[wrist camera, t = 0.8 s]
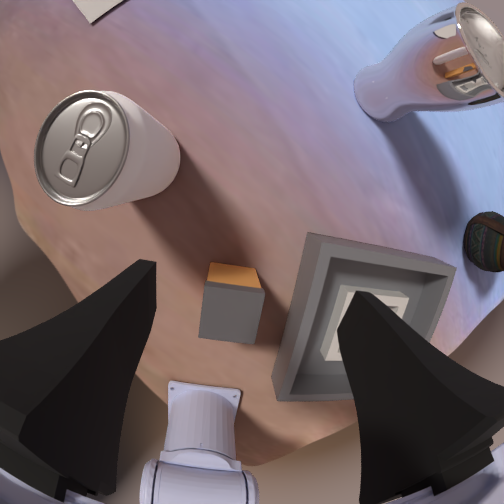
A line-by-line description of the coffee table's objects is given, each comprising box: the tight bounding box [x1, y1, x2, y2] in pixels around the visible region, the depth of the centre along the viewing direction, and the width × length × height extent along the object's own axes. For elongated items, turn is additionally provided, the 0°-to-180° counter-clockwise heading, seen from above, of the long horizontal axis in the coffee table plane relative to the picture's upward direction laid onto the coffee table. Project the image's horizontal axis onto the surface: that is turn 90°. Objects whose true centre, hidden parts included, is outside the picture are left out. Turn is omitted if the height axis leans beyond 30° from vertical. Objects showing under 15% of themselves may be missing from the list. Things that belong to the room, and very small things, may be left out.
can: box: [34, 90, 180, 211], centre depth 16 cm, size 6×6×12 cm
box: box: [271, 232, 457, 401], centre depth 26 cm, size 16×16×4 cm
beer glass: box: [354, 2, 504, 122], centre depth 14 cm, size 7×7×15 cm
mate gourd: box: [464, 211, 504, 272], centre depth 22 cm, size 7×8×10 cm
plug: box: [198, 262, 265, 344], centre depth 22 cm, size 4×4×6 cm
